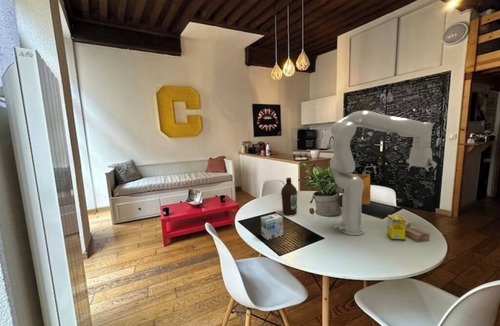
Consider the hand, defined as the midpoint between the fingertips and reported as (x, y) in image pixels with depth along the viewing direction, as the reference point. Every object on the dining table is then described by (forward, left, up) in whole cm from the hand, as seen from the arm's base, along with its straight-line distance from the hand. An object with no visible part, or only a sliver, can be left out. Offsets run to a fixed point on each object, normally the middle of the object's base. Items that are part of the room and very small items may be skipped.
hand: (419, 176), depth 123 cm
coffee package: (-6, +42, -28) cm, 51 cm away
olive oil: (-63, +37, -28) cm, 78 cm away
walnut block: (-14, -13, -28) cm, 34 cm away
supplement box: (-23, -10, -28) cm, 37 cm away
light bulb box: (-82, +9, -28) cm, 87 cm away
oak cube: (-13, -4, -28) cm, 31 cm away
